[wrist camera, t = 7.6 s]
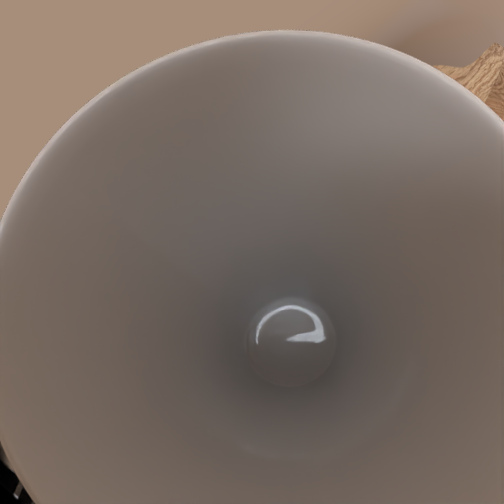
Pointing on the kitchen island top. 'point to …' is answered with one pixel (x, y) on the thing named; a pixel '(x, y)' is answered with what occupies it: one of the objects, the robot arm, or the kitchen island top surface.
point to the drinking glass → (260, 284)
